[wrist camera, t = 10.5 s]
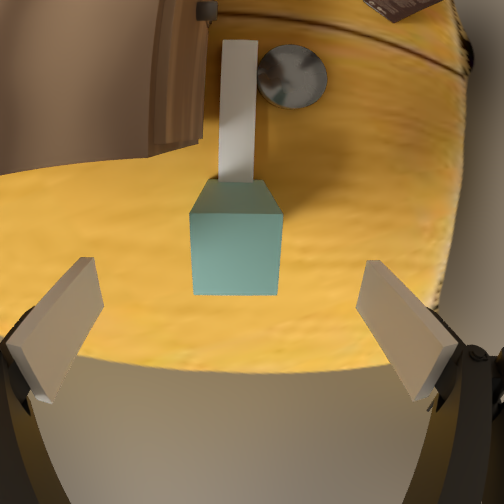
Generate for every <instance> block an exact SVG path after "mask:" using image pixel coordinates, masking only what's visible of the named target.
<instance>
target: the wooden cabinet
mask: <svg viewBox="0 0 504 504" xmlns="http://www.w3.org/2000/svg"><path fill="white" fill-rule="evenodd" d="M217 13H218V2H217V1H214V0H0V175H5V174H10V173H15V172H21V171H27V170H33V169H39V168H45V167H52V166H60V165H68V164H76V163H85V162H95V161H106V160H118V159H133V158H149V157H152V156H155V155H159V154H162V153H166V152H169V151H173V150H176V149H180V148H184V147H187V146H191V145H195V144H198V139H203V114H204V92H205V74H206V58H207V45H208V29H207V28H209V24H211V23H212V21H213V20H217Z"/></svg>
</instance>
